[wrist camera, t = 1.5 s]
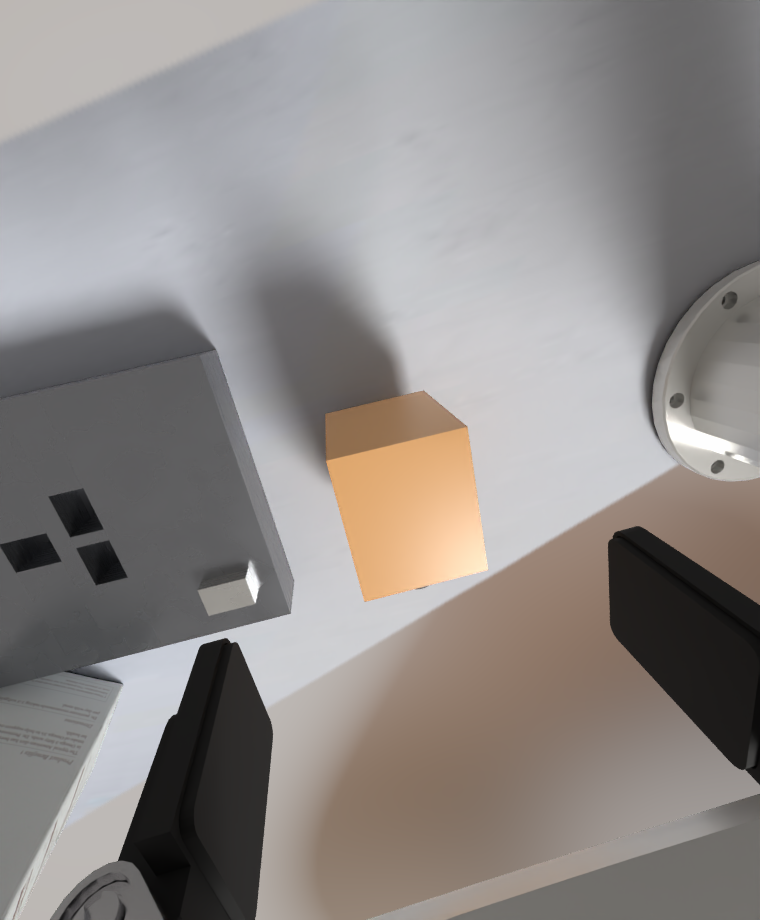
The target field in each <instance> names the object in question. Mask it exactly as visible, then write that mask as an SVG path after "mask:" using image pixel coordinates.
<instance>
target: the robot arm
mask: <svg viewBox="0 0 760 920" xmlns="http://www.w3.org/2000/svg"><path fill="white" fill-rule="evenodd" d="M652 410H653V417H654V425H655V427H656V430H657V433H658V436H659V438H660V441H661V442H662V444H663V446H664V447H665V449H666V450H667V452H668V453H669V454H670V455H671V456H672V457H673V458H674V459H675V460H676V461H677V462H678V463H679V464H681V465H682V466H684V467H686V468H688V469H690V470H692V471H694V472H696V473H698V474H700V475H703V476H705V477H708V478H711V479H715V480H722V481H745V480H751V479H755V478H759V477H760V261H757V262H754V263H752V264H749V265H747V266H745V267H743V268H740V269H738V270H736V271H734V272H732V273H731V274H729V275H728V276H726V277H725V278H723V279H722V280H720V281H719V282H717V283H716V284H714V285H713V286H712V287H711V288H710V289H709V290H708V291H706V292H705V293H704V294H703V295H702V296H701V297H700V298H699V299H698V300H697V301H696V302H695V303H694V304H693V305H692V306H691V308H690V309H689V310H688V311H687V313H686V314H685V315H684V316H683V317H682V319H681V320H680V321H679V323H678V325H677V326H676V328H675V330H674V331H673V333H672V335H671V336H670V338H669V340H668V341H667V343H666V346H665V348H664V351H663V353H662V356H661V358H660V361H659V363H658V367H657V371H656V375H655V379H654V384H653V396H652ZM608 561H609V595H610V596H609V598H610V625H611V629H612V631H613V633H614V635H615V636H616V638H617V639H618V641H619V642H620V643H621V644H622V645H623V646H624V647H625V648H626V649H627V650H628V651H629V652H630V654H631V655H632V656H633V657H634V658H635V659H636V660H637V661H638V662H639V663H640V664H641V666H642V667H643V668H644V669H645V670H646V671H647V672H648V673H649V674H650V675H651V676H652V677H653V678H654V680H655V681H656V682H657V683H658V684H659V685H660V686H661V687H662V688H663V689H664V690H665V692H666V693H667V694H668V695H669V696H670V697H671V698H672V699H673V700H674V701H675V702H676V704H677V705H679V707H680V708H681V709H682V710H683V711H684V712H685V713H686V714H687V715H688V717H689V718H690V719H691V720H692V721H693V722H694V723H695V724H696V725H697V726H698V727H699V729H700V730H701V731H702V732H703V733H704V734H705V735H706V736H707V737H708V738H709V739H710V740H711V742H712V743H713V744H714V745H715V746H716V747H717V748H718V749H719V750H720V751H721V752H722V753H723V755H724V756H725V757H726V758H727V759H728V760H729V761H730V762H731V763H732V764H733V765H734V766H736V767H737V768H739V769H741V770H744V769H745V770H746V771H747V772H748V773H749V774H750V775H751V776H752V777H753V778H754V779H755V780H756V781H757V782H758V783H759V784H760V605H758V604H757V603H756V602H754V601H753V600H751V599H750V598H748V597H746V596H745V595H744V594H742V593H741V592H739V591H738V590H736V589H735V588H733V587H731V586H730V585H729V584H727V583H726V582H724V581H722V580H721V579H719V578H718V577H716V576H715V575H713V574H712V573H710V572H709V571H707V570H706V569H704V568H703V567H701V566H700V565H698V564H697V563H695V562H694V561H692V560H691V559H689V558H688V557H686V556H685V555H683V554H682V553H680V552H679V551H677V550H676V549H674V548H673V547H671V546H670V545H668V544H667V543H665V542H664V541H662V540H661V539H659V538H658V537H656V536H655V535H653V534H652V533H650V532H648V531H647V530H646V529H644V528H642V527H639V526H636V527H632V528H629V529H625V530H621V531H618V532H615V533H614V535H613V539H611V540H610V541H609V543H608ZM272 740H273V730H272V724H271V721H270V718H269V716H268V714H267V711H266V709H265V706H264V704H263V702H262V699H261V697H260V695H259V692H258V690H257V687H256V685H255V683H254V680H253V678H252V675H251V673H250V671H249V668H248V666H247V664H246V661H245V659H244V656H243V654H242V652H241V649H240V647H239V645H238V643H237V642H234V643H230V641H229V640H228V639H227V638H224V639H221V640H217V641H213V642H210V643H206V644H203V645H201V646H200V648H199V650H198V653H197V656H196V659H195V662H194V665H193V668H192V671H191V674H190V677H189V680H188V683H187V686H186V689H185V692H184V695H183V698H182V701H181V704H180V707H179V710H178V713H177V714H176V715H173V716H172V717H171V718H170V719H169V720H168V723H167V725H166V727H165V730H164V732H163V735H162V738H161V741H160V744H159V746H158V749H157V752H156V755H155V758H154V760H153V763H152V766H151V769H150V772H149V775H148V777H147V780H146V783H145V786H144V789H143V791H142V794H141V798H140V800H139V803H138V806H137V808H136V811H135V814H134V817H133V820H132V823H131V826H130V828H129V831H128V834H127V837H126V839H125V842H124V845H123V848H122V851H121V854H120V857H119V859H118V861H117V862H112V863H108V864H106V865H105V866H103V867H101V868H99V869H97V870H95V871H93V872H92V873H91V874H90V875H88V876H87V877H86V878H85V879H83V880H82V881H81V882H80V883H78V884H77V886H76V887H75V888H74V889H73V890H72V891H71V892H70V893H69V894H68V895H67V896H66V898H65V899H64V900H63V901H62V903H61V904H60V906H59V907H58V908H57V910H56V911H55V913H54V914H53V916H52V917H51V919H50V920H255V917H256V909H257V899H258V888H259V878H260V868H261V858H262V847H263V837H264V826H265V815H266V805H267V794H268V783H269V773H270V763H271V751H272V742H273V741H272ZM367 920H760V794H758V795H754V796H751V797H748V798H745V799H742V800H738V801H735V802H732V803H729V804H725V805H722V806H719V807H716V808H713V809H709V810H706V811H703V812H700V813H697V814H693V815H691V816H687V817H684V818H681V819H678V820H675V821H671V822H668V823H665V824H662V825H659V826H655V827H652V828H649V829H646V830H643V831H639V832H636V833H633V834H630V835H627V836H624V837H620V838H617V839H614V840H611V841H608V842H605V843H602V844H599V845H596V846H592V847H589V848H586V849H583V850H580V851H577V852H574V853H570V854H567V855H564V856H561V857H558V858H555V859H552V860H549V861H545V862H542V863H539V864H536V865H533V866H530V867H527V868H524V869H521V870H518V871H514V872H511V873H508V874H505V875H502V876H499V877H496V878H493V879H490V880H486V881H483V882H480V883H477V884H474V885H471V886H468V887H465V888H462V889H459V890H456V891H453V892H450V893H446V894H444V895H440V896H437V897H435V898H431V899H428V900H425V901H422V902H419V903H416V904H413V905H410V906H407V907H404V908H401V909H398V910H395V911H392V912H389V913H385V914H382V915H380V916H377V917H373V918H370V919H367Z"/></svg>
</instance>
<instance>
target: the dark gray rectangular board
mask: <svg viewBox="0 0 760 920" xmlns="http://www.w3.org/2000/svg"><path fill="white" fill-rule="evenodd" d="M293 587H294V579H293V576H292V573H291V570H290V567H289V564H288V561H287V558H286V555H285V552H284V549H283V546H282V543H281V540H280V538H279V535H278V532H277V529H276V526H275V523H274V520H273V517H272V514H271V511H270V508H269V505H268V502H267V499H266V496H265V493H264V490H263V487H262V484H261V481H260V478H259V475H258V472H257V469H256V466H255V464H254V461H253V458H252V455H251V452H250V449H249V446H248V443H247V440H246V437H245V434H244V431H243V428H242V425H241V422H240V419H239V416H238V413H237V410H236V407H235V404H234V401H233V398H232V395H231V392H230V390H229V387H228V384H227V381H226V378H225V375H224V372H223V369H222V366H221V363H220V360H219V357H218V354H217V351H216V350H211V351H207V352H203V353H198V354H194V355H189V356H185V357H181V358H176V359H172V360H167V361H163V362H159V363H154V364H150V365H146V366H141V367H137V368H132V369H128V370H124V371H119V372H115V373H110V374H106V375H102V376H97V377H93V378H88V379H84V380H80V381H75V382H71V383H67V384H62V385H58V386H53V387H49V388H45V389H40V390H36V391H31V392H27V393H23V394H18V395H14V396H9V397H5V398H1V399H0V688H3V687H6V686H10V685H14V684H18V683H22V682H26V681H30V680H34V679H38V678H42V677H45V676H49V675H53V674H57V673H61V672H65V671H69V670H73V669H77V668H81V667H84V666H88V665H92V664H96V663H100V662H104V661H108V660H112V659H116V658H120V657H123V656H127V655H131V654H135V653H139V652H143V651H147V650H151V649H155V648H158V647H162V646H166V645H170V644H174V643H178V642H182V641H186V640H190V639H194V638H197V637H201V636H205V635H209V634H213V633H217V632H221V631H225V630H229V629H233V628H236V627H240V626H244V625H248V624H252V623H256V622H260V621H264V620H268V619H272V618H275V617H279V616H283V615H287V614H291V605H292V596H293Z"/></svg>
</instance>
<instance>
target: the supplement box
mask: <svg viewBox="0 0 760 920" xmlns="http://www.w3.org/2000/svg"><path fill="white" fill-rule="evenodd" d="M122 688H123V685H122V684H119V683H114V682H109V681H105V680H100V679H95V678H91V677H86V676H82V675H77V674H73V673H68V672H61V673H57V674H53V675H49V676H45V677H42V678H38V679H34V680H30V681H26V682H22V683H18V684H14V685H10V686H6V687H3V688H0V920H18V919H19V917H20V915H21V913H22V911H23V909H24V907H25V904H26V902H27V900H28V898H29V896H30V894H31V892H32V890H33V888H34V886H35V884H36V882H37V880H38V878H39V876H40V873H41V872H42V870H43V868H44V866H45V864H46V862H47V860H48V858H49V856H50V854H51V852H52V850H53V848H54V846H55V844H56V842H57V840H58V838H59V836H60V834H61V832H62V830H63V828H64V826H65V824H66V822H67V820H68V818H69V816H70V814H71V812H72V810H73V808H74V806H75V804H76V803H77V801H78V799H79V797H80V795H81V793H82V791H83V789H84V787H85V785H86V783H87V781H88V779H89V777H90V774H91V772H92V770H93V768H94V766H95V763H96V760H97V757H98V754H99V751H100V749H101V746H102V743H103V741H104V738H105V735H106V732H107V730H108V727H109V724H110V721H111V719H112V716H113V713H114V711H115V708H116V705H117V702H118V700H119V697H120V694H121V691H122Z"/></svg>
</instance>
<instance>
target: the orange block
mask: <svg viewBox="0 0 760 920" xmlns="http://www.w3.org/2000/svg"><path fill="white" fill-rule="evenodd" d="M325 426H326V463H327V466H328V470H329V474H330V477H331V481H332V485H333V488H334V492H335V496H336V499H337V503H338V507H339V510H340V514H341V517H342V521H343V525H344V528H345V532H346V536H347V539H348V543H349V547H350V550H351V554H352V558H353V561H354V565H355V569H356V572H357V576H358V580H359V583H360V587H361V590H362V594H363V598H364V601H365V602H366V601H370V600H374V599H378V598H382V597H386V596H390V595H393V594H397V593H401V592H405V591H409V590H413V589H422V588H425V587H427V586H429V585H432V584H436V583H440V582H444V581H448V580H452V579H456V578H459V577H463V576H467V575H471V574H475V573H479V572H483V571H487V570H488V566H487V559H486V552H485V545H484V538H483V532H482V525H481V518H480V511H479V504H478V497H477V490H476V483H475V476H474V469H473V463H472V456H471V449H470V442H469V435H468V428H467V426H466V425H465V424H463V423H462V422H461V421H460V420H459V419H457V418H456V417H455V416H454V415H453V414H451V413H450V412H449V411H448V410H447V409H445V408H444V407H443V406H442V405H440V404H439V403H438V402H437V401H436V400H434V399H433V398H432V397H431V396H430V395H428V394H427V393H426V392H425V391H424V390H423V391H419V392H415V393H411V394H407V395H402V396H398V397H394V398H390V399H385V400H381V401H377V402H373V403H369V404H364V405H360V406H356V407H352V408H347V409H343V410H339V411H335V412H331V413H326V414H325Z"/></svg>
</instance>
